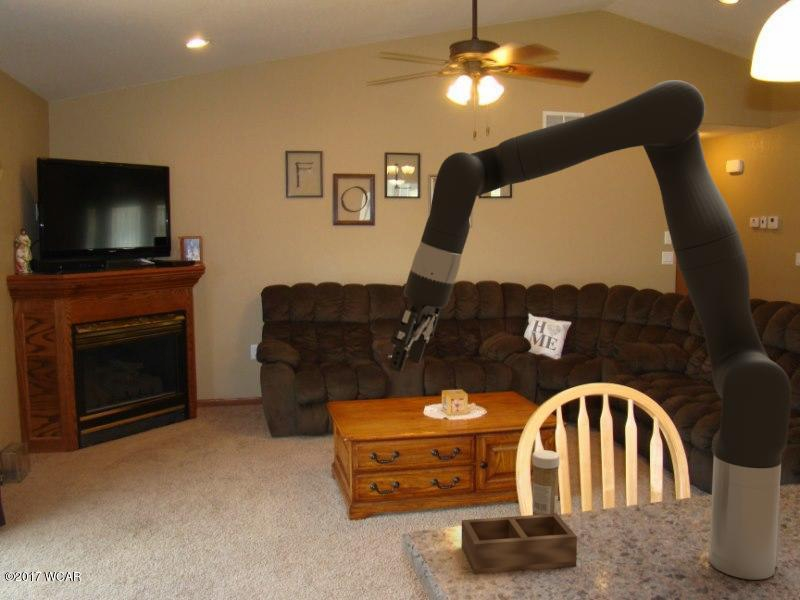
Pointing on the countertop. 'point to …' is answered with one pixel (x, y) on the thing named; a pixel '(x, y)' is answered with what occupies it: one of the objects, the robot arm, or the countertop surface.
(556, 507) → the sprinkles bottle
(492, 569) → the spice caddy
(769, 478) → the robot arm
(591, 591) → the countertop surface
